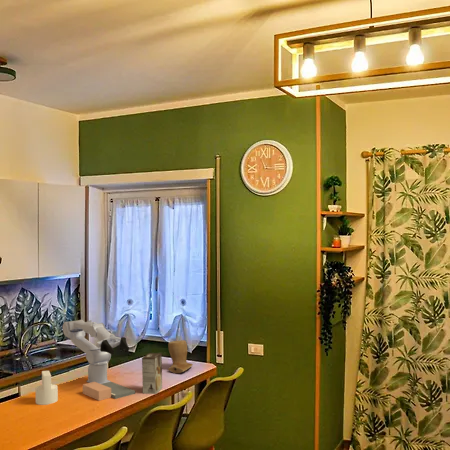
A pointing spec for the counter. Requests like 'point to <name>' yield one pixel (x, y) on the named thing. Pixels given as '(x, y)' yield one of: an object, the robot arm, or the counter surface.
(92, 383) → the tan rectangular block
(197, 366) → the counter surface
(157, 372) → the coffee box
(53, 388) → the base with upright slab
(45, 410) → the counter surface
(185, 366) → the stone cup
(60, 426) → the counter surface
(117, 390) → the board
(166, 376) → the counter surface
